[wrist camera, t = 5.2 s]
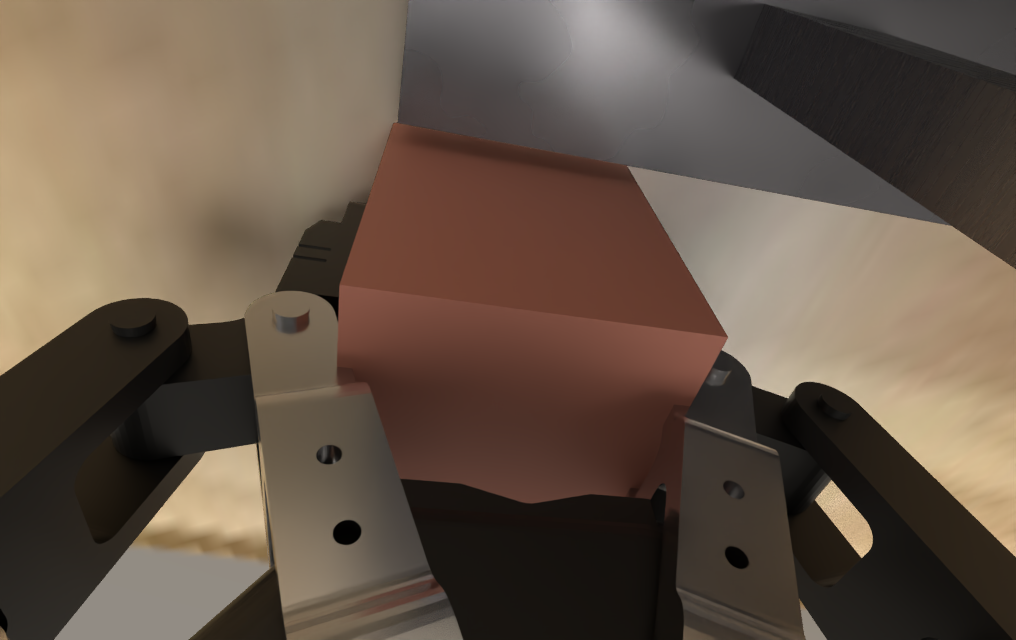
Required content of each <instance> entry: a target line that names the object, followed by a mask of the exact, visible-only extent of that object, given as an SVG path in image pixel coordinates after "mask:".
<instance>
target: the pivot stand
mask: <svg viewBox="0 0 1016 640" xmlns="http://www.w3.org/2000/svg"><path fill="white" fill-rule="evenodd" d="M398 123H401V124H406V125H412V126H417V127H422V128H428V129H433V130H439V131H444V132H449V133H455V134H460V135H466V136H471V137H476V138H482V139H487V140H493V141H498V142H503V143H509V144H514V145H519V146H525V147H530V148H536V149H541V150H546V151H552V152H557V153H563V154H568V155H573V156H579V157H584V158H590V159H595V160H600V161H606V162H611V163H616V164H622V165H627V166H633V167H638V168H643V169H649V170H654V171H660V172H665V173H670V174H676V175H681V176H687V177H692V178H697V179H703V180H708V181H713V182H719V183H724V184H730V185H735V186H740V187H746V188H751V189H757V190H762V191H767V192H773V193H778V194H784V195H789V196H794V197H800V198H805V199H810V200H816V201H821V202H827V203H832V204H837V205H843V206H848V207H854V208H859V209H864V210H870V211H875V212H880V213H886V214H891V215H897V216H902V217H907V218H913V219H918V220H924V221H929V222H934V223H940V224H945V225H951V226H953V227H954V228H956V229H957V230H959V231H960V232H962V233H963V234H965V235H966V236H968V237H969V238H971V239H972V240H974V241H975V242H977V243H978V244H980V245H981V246H983V247H984V248H985V249H987V250H988V251H990V252H991V253H993V254H994V255H996V256H997V257H999V258H1000V259H1002V260H1003V261H1005V262H1006V263H1008V264H1009V265H1011V266H1012V267H1014V268H1015V269H1016V0H409V3H408V14H407V25H406V36H405V47H404V58H403V70H402V81H401V92H400V103H399V114H398Z"/></svg>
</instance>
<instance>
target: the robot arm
mask: <svg viewBox="0 0 1016 640" xmlns="http://www.w3.org/2000/svg"><path fill="white" fill-rule="evenodd" d="M365 207H366V204H364V203H358V202H351V201H350V202H349V204H348V207H347V209H346V212H345V215H344V217H343V220H342V222H341V223H338V222H331V221H325V220H321V221H319V222H318V223H316V224H314V225H313V226H311V227H310V228H308V229H307V230H305V232H304V234H303V236H302V238H301V240H300V242H299V247H298V246H297V248H296V251H295V253H294V255H293V258H292V259H291V261H290V263H289V265H288V267H287V269H286V271H285V273H284V275H283V277H282V279H281V281H280V283H279V285H278V287H277V289H276V291H275V293H271V294H268V295H265V296H262V297H260V298H258V299H257V300H255V301H254V302H253V303H252V304H250V305H249V307H248V308H247V310H246V312H245V318H242V319H239V320H235V321H230V322H221V323H209V324H196V325H189V324H188V318H187V316H186V313H185V312H184V311H183V310H182V309H181V308H180V307H178V306H177V305H175V304H173V303H170V302H167V301H164V300H159V299H151V298H137V299H127V300H121V301H117V302H113V303H110V304H107V305H105V306H102V307H100V308H98V309H96V310H94V311H93V312H91V313H90V314H88V315H87V316H85V317H84V318H82V319H81V320H80V321H78V322H77V323H75V324H74V325H72V326H71V327H70V328H68V329H67V330H65V331H64V332H62V333H61V334H60V335H58V336H57V337H55V338H54V339H52V340H51V341H50V342H48V343H47V344H45V345H44V346H42V347H41V348H40V349H38V350H37V351H35V352H34V353H32V354H31V355H30V356H28V357H27V358H25V359H24V360H23V361H21V362H20V363H18V364H17V365H15V366H14V367H13V368H11V369H10V370H8V371H7V372H5V373H4V374H3V375H1V376H0V640H54V639H55V637H56V636H57V635H58V634H59V632H60V631H61V630H62V629H63V627H64V626H65V625H66V624H67V622H68V621H69V620H70V619H71V618H72V616H73V615H74V614H75V613H76V612H77V610H78V609H79V608H80V606H81V605H82V604H83V603H84V602H85V600H86V599H87V598H88V597H89V596H90V594H91V593H92V592H93V591H94V589H95V588H96V587H97V585H99V583H100V582H101V581H102V580H103V578H104V577H105V576H106V574H107V573H108V572H109V571H110V570H111V569H112V567H113V566H114V565H115V564H116V562H117V561H118V560H119V559H120V557H121V556H122V555H123V554H124V553H125V551H126V550H127V549H128V548H129V546H130V545H131V544H132V543H133V541H134V540H135V539H136V538H137V537H138V535H139V534H140V533H141V532H142V530H143V529H144V528H145V527H146V526H147V524H148V523H149V522H150V521H151V519H152V518H153V517H154V516H155V514H156V513H157V512H158V511H159V510H160V508H161V507H162V506H163V505H164V503H165V502H166V501H167V500H168V498H169V497H170V496H171V495H172V494H173V492H174V491H175V490H176V489H177V487H178V486H179V485H180V484H181V482H182V481H183V480H184V479H185V478H186V476H187V475H188V474H189V473H190V471H191V470H192V469H193V468H194V467H195V465H196V464H197V463H198V462H199V460H200V459H201V458H202V456H203V455H204V453H205V452H206V451H212V450H219V449H225V448H231V447H237V446H243V445H249V444H255V443H256V451H257V460H258V468H259V477H260V486H261V494H262V503H263V511H264V520H265V530H266V540H267V550H268V560H269V570H268V571H267V572H265V573H264V574H263V575H262V576H261V577H260V578H259V579H258V580H256V581H255V582H254V583H253V584H252V585H251V586H249V587H248V588H247V589H246V590H245V591H244V592H243V593H241V594H240V595H239V596H238V597H237V598H236V599H235V600H233V601H232V602H231V603H230V604H229V605H228V606H227V607H225V608H224V609H223V610H222V611H221V612H220V613H219V614H217V615H216V616H215V617H214V618H213V619H212V620H211V621H209V622H208V623H207V624H206V625H205V626H204V627H203V628H202V629H201V630H199V631H198V632H197V633H196V634H195V635H194V636H192V637H191V638H190V639H189V640H806V639H805V636H804V631H803V624H802V617H801V610H800V602H799V599H800V600H801V602H802V603H803V605H804V606H805V608H806V609H807V610H808V612H809V613H810V615H811V616H812V618H813V619H814V621H815V622H816V624H817V625H818V627H819V628H820V630H821V631H822V633H823V634H824V635H825V637H826V638H827V640H1016V557H1015V556H1014V555H1013V554H1012V553H1011V552H1010V551H1009V550H1008V549H1007V548H1006V547H1004V546H1003V545H1002V544H1001V543H1000V542H999V541H998V540H997V539H996V538H995V537H994V536H993V535H992V534H991V533H990V532H989V531H988V530H987V529H986V528H985V527H984V526H983V525H982V524H981V523H980V522H979V521H978V520H977V519H976V518H975V517H974V516H973V515H972V514H971V513H970V512H969V511H968V510H967V509H966V508H965V507H964V506H963V505H961V504H960V503H959V502H958V501H957V500H956V499H955V498H954V497H953V496H952V495H951V494H950V493H949V492H948V491H947V490H946V489H945V488H944V487H943V486H942V485H941V484H940V483H939V482H938V481H937V480H936V479H935V478H934V477H933V476H932V475H931V474H930V473H929V472H928V471H927V470H926V469H925V468H924V467H923V466H922V465H921V464H919V463H918V462H917V461H916V460H915V459H914V458H913V457H912V456H911V455H910V454H909V453H908V452H907V451H906V450H905V449H904V448H903V447H902V446H901V445H900V444H899V443H898V442H897V441H896V440H895V439H894V438H893V437H892V436H891V435H890V434H889V433H888V432H887V431H886V430H885V429H884V428H883V427H882V426H881V425H880V424H879V423H878V422H876V421H875V420H874V419H873V418H872V417H871V416H870V415H869V414H868V413H867V412H866V411H865V410H864V409H863V408H862V407H861V406H860V405H859V404H858V403H857V402H856V401H854V400H853V399H852V398H850V397H849V396H847V395H846V394H844V393H842V392H841V391H839V390H837V389H835V388H832V387H830V386H827V385H824V384H821V383H815V382H804V383H801V384H799V385H798V386H797V387H796V388H795V390H794V391H793V392H792V394H791V395H790V397H789V398H785V397H782V396H779V395H776V394H774V393H771V392H768V391H765V390H762V389H759V388H756V387H754V386H752V384H751V378H750V375H749V373H748V371H747V370H746V368H745V367H744V366H743V365H742V364H741V363H740V362H739V361H738V360H737V359H735V358H734V357H732V356H731V355H729V354H728V353H726V352H724V351H722V350H721V351H720V353H719V355H718V357H717V359H716V360H715V362H714V364H713V366H712V368H711V369H710V371H709V373H708V375H707V377H706V378H705V380H704V382H703V384H702V386H701V387H700V389H699V391H698V393H697V395H696V397H695V398H694V400H693V402H692V404H691V406H684V405H675V404H674V405H673V407H672V409H671V411H670V413H669V415H668V417H667V419H666V421H665V423H664V424H663V429H662V438H661V443H660V447H659V450H658V453H657V456H656V459H655V461H654V463H653V465H652V467H651V469H650V471H649V473H648V474H647V476H646V478H645V480H644V482H643V484H642V486H641V487H640V489H638V488H630V489H629V491H628V493H627V495H626V496H625V497H621V496H609V495H596V494H588V495H581V496H575V497H569V498H563V499H557V500H551V501H545V502H539V503H524V502H520V501H516V500H513V499H510V498H507V497H503V496H500V495H497V494H494V493H490V492H487V491H484V490H481V489H477V488H474V487H471V486H467V485H464V484H461V483H449V482H436V481H424V480H412V479H400V477H399V474H398V471H397V468H396V465H395V462H394V459H393V456H392V453H391V450H390V447H389V444H388V441H387V438H386V435H385V432H384V429H383V426H382V422H381V419H380V416H379V413H378V410H377V407H376V404H375V401H374V398H373V395H372V392H371V390H370V387H369V385H368V384H367V382H365V381H362V382H356V379H355V376H354V373H353V369H352V368H345V367H337V343H338V315H339V286H340V282H341V279H342V276H343V273H344V270H345V267H346V264H347V261H348V258H349V255H350V252H351V249H352V246H353V243H354V240H355V237H356V234H357V231H358V228H359V225H360V222H361V219H362V216H363V213H364V210H365ZM831 480H832V481H833V482H834V483H835V484H836V485H837V487H838V488H839V489H840V490H841V491H842V492H843V494H844V495H845V496H846V497H847V498H848V499H849V501H850V502H851V503H852V504H853V505H854V506H855V508H856V509H857V510H858V511H859V512H860V513H861V515H862V516H863V517H864V518H865V519H866V521H867V522H868V524H869V526H870V528H871V531H872V534H873V544H872V547H871V549H870V551H869V552H868V553H867V554H866V555H865V556H864V557H863V558H861V557H860V556H859V555H858V553H857V552H856V551H855V550H854V548H853V547H852V546H851V545H850V543H849V542H848V541H847V540H846V538H845V537H844V536H843V535H842V533H841V532H840V531H839V530H838V528H837V527H836V526H835V525H834V523H833V522H832V521H831V520H830V519H829V517H828V516H827V515H826V514H825V512H824V511H823V510H822V509H821V507H820V506H819V505H818V504H817V502H816V501H815V499H816V497H817V496H818V495H819V494H820V493H821V492H822V490H823V489H824V488H825V487H826V486H827V485H828V483H829V482H830V481H831Z"/></svg>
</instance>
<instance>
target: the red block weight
mask: <svg viewBox="0 0 1016 640" xmlns="http://www.w3.org/2000/svg"><path fill="white" fill-rule="evenodd" d="M727 339H728V336H727V335H726V333H725V331H724V329H723V328H722V326H721V324H720V323H719V321H718V319H717V318H716V316H715V314H714V313H713V311H712V309H711V307H710V306H709V304H708V302H707V301H706V299H705V297H704V296H703V294H702V292H701V291H700V289H699V287H698V285H697V284H696V282H695V280H694V279H693V277H692V275H691V274H690V272H689V270H688V269H687V267H686V265H685V264H684V262H683V260H682V258H681V257H680V255H679V253H678V252H677V250H676V248H675V247H674V245H673V243H672V242H671V240H670V238H669V236H668V235H667V233H666V231H665V230H664V228H663V226H662V225H661V223H660V221H659V220H658V218H657V216H656V214H655V213H654V211H653V209H652V208H651V206H650V204H649V203H648V201H647V199H646V198H645V196H644V194H643V192H642V191H641V189H640V187H639V186H638V184H637V182H636V181H635V179H634V177H633V176H632V174H631V172H630V171H629V169H628V167H627V165H622V164H616V163H611V162H605V161H600V160H595V159H589V158H584V157H578V156H573V155H567V154H562V153H557V152H551V151H546V150H540V149H535V148H529V147H524V146H519V145H513V144H508V143H502V142H497V141H491V140H486V139H481V138H475V137H470V136H464V135H459V134H453V133H448V132H443V131H437V130H432V129H426V128H421V127H416V126H410V125H405V124H399V123H393V126H392V129H391V132H390V135H389V138H388V141H387V144H386V147H385V150H384V153H383V156H382V159H381V162H380V165H379V168H378V171H377V174H376V177H375V180H374V183H373V186H372V189H371V192H370V195H369V198H368V201H367V204H366V207H365V210H364V213H363V216H362V219H361V222H360V225H359V228H358V231H357V234H356V237H355V240H354V243H353V246H352V249H351V252H350V255H349V258H348V261H347V264H346V267H345V270H344V273H343V276H342V279H341V282H340V286H339V315H338V343H337V367H345V368H352V369H353V373H354V376H355V379H356V382H362V381H365V382H367V384H368V385H369V387H370V390H371V392H372V395H373V398H374V401H375V404H376V407H377V410H378V413H379V416H380V419H381V422H382V426H383V429H384V432H385V435H386V438H387V441H388V444H389V447H390V450H391V453H392V456H393V459H394V462H395V465H396V468H397V471H398V474H399V477H400V479H412V480H424V481H436V482H449V483H461V484H464V485H467V486H471V487H474V488H477V489H481V490H484V491H487V492H490V493H494V494H497V495H500V496H503V497H507V498H510V499H513V500H516V501H520V502H524V503H539V502H545V501H551V500H557V499H563V498H569V497H575V496H581V495H588V494H596V495H609V496H621V497H625V496H626V495H627V493H628V491H629V489H630V488H638V489H640V487H641V486H642V484H643V482H644V480H645V478H646V476H647V474H648V473H649V471H650V469H651V467H652V465H653V463H654V461H655V459H656V456H657V453H658V450H659V447H660V443H661V438H662V429H663V424H664V423H665V421H666V419H667V417H668V415H669V413H670V411H671V409H672V407H673V405H674V404H675V405H684V406H691V404H692V402H693V400H694V398H695V397H696V395H697V393H698V391H699V389H700V387H701V386H702V384H703V382H704V380H705V378H706V377H707V375H708V373H709V371H710V369H711V368H712V366H713V364H714V362H715V360H716V359H717V357H718V355H719V353H720V351H721V349H722V348H723V346H724V344H725V342H726V340H727Z"/></svg>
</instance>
